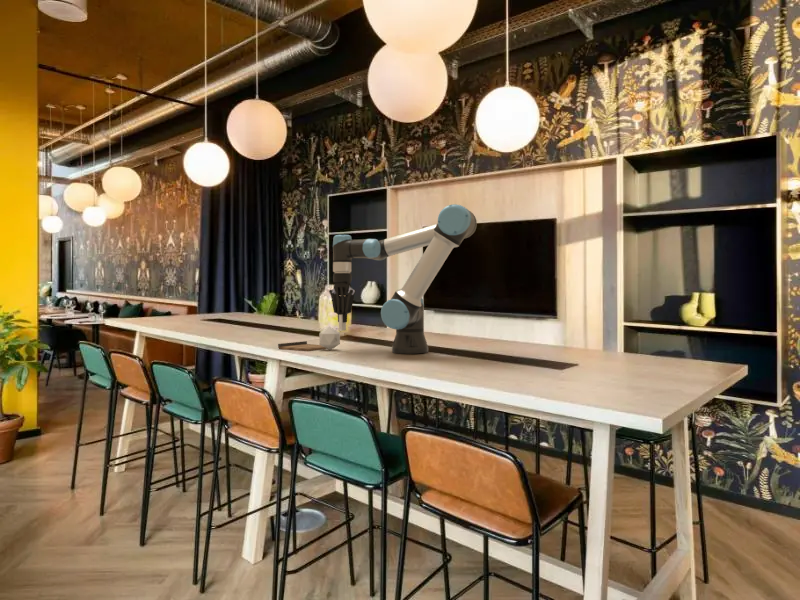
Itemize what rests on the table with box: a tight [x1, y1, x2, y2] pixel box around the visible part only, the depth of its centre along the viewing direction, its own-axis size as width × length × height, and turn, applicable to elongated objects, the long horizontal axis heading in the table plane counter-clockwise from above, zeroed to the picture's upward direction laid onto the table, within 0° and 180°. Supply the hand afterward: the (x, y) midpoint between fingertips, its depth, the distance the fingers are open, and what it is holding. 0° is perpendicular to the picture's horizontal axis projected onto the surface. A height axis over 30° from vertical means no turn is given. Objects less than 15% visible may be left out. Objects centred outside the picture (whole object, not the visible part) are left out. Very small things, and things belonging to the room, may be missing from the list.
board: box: [277, 340, 327, 352], centre depth 235 cm, size 18×16×2 cm
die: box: [318, 326, 341, 351], centre depth 226 cm, size 8×9×10 cm
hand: (342, 330), depth 222 cm, fingers closed
